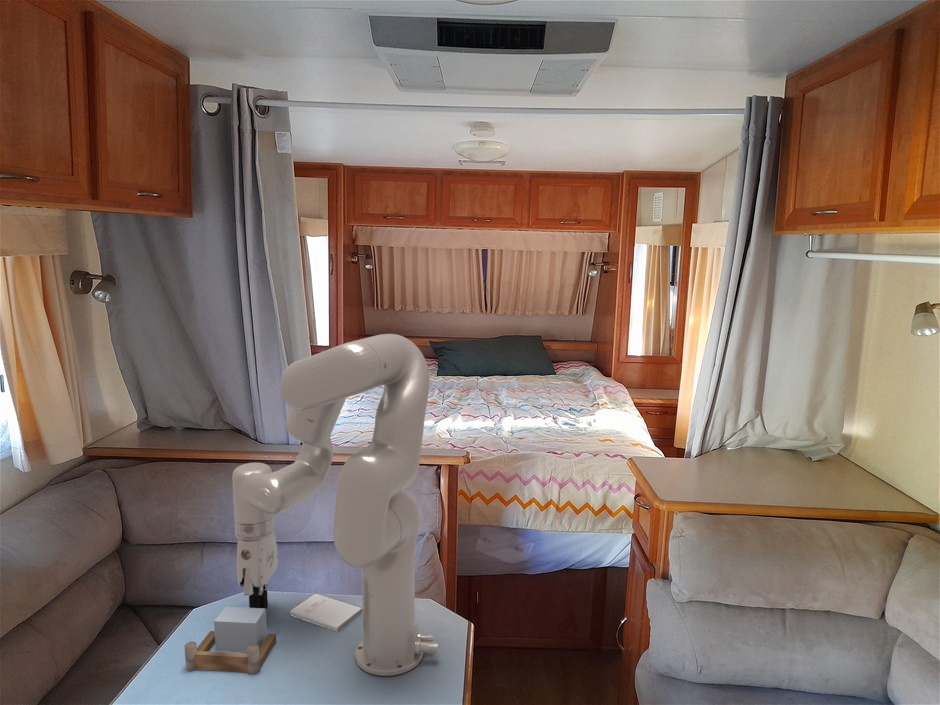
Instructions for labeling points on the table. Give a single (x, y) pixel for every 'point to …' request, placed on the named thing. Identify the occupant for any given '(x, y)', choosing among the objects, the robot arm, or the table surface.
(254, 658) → the frame
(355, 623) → the table surface
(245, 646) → the tall white block
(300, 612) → the external hard drive
